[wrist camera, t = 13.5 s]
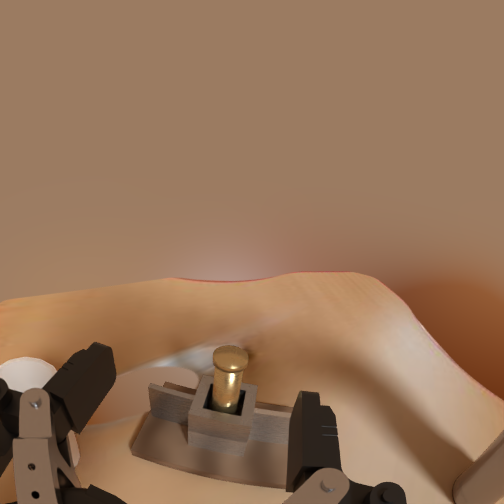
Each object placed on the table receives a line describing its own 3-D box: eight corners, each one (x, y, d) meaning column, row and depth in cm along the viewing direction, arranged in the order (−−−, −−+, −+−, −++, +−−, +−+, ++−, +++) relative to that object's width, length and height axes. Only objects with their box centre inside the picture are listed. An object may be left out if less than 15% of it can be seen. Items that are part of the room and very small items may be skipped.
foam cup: (27, 426, 24) (-8, 357, 20) (84, 424, 29) (60, 355, 25) (31, 483, 17) (-19, 420, 13) (97, 480, 22) (65, 421, 18)
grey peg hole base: (292, 413, 39) (294, 407, 39) (290, 489, 26) (293, 484, 25) (165, 387, 40) (165, 381, 40) (132, 454, 27) (130, 449, 27)
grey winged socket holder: (291, 424, 35) (304, 392, 33) (290, 462, 29) (305, 433, 27) (160, 397, 37) (158, 362, 34) (143, 431, 30) (137, 398, 28)
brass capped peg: (236, 425, 34) (250, 348, 30) (232, 444, 31) (246, 370, 26) (210, 419, 34) (217, 342, 30) (204, 439, 31) (209, 363, 27)
